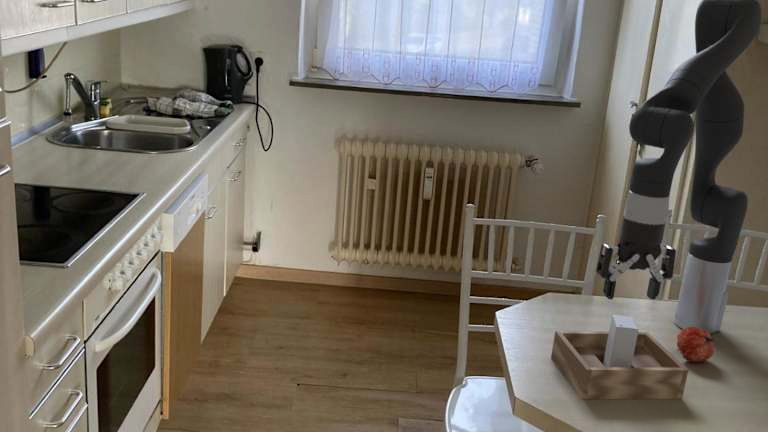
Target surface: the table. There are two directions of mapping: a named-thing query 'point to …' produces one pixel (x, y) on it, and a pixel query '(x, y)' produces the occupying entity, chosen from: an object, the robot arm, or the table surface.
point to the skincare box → (621, 342)
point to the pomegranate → (695, 344)
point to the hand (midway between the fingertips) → (629, 297)
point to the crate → (618, 368)
